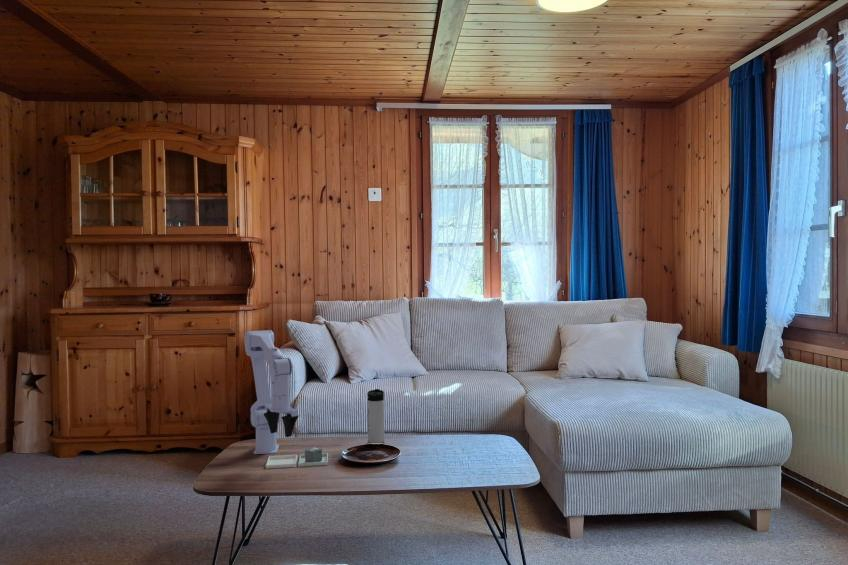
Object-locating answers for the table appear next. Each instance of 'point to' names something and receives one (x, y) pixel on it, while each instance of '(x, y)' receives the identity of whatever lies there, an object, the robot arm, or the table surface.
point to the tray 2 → (323, 462)
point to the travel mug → (375, 416)
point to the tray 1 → (281, 461)
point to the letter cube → (313, 454)
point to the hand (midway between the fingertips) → (281, 434)
